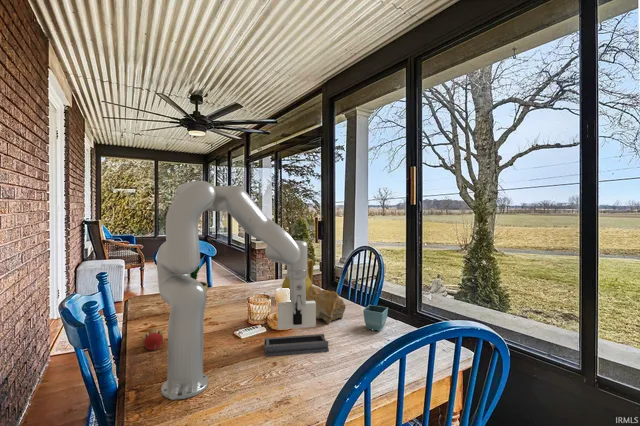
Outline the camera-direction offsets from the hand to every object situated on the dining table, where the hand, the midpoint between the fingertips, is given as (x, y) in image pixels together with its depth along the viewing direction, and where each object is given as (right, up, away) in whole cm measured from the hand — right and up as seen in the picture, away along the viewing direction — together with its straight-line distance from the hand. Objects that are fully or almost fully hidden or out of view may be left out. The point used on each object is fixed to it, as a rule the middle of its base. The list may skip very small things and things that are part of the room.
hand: (296, 322), depth 119 cm
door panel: (0, -2, 0) cm, 2 cm away
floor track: (0, -10, 0) cm, 10 cm away
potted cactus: (-54, -9, +33) cm, 64 cm away
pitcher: (-3, -9, +60) cm, 60 cm away
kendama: (-55, -9, +2) cm, 56 cm away
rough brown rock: (+13, -10, +34) cm, 37 cm away
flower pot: (+33, -10, +21) cm, 40 cm away
